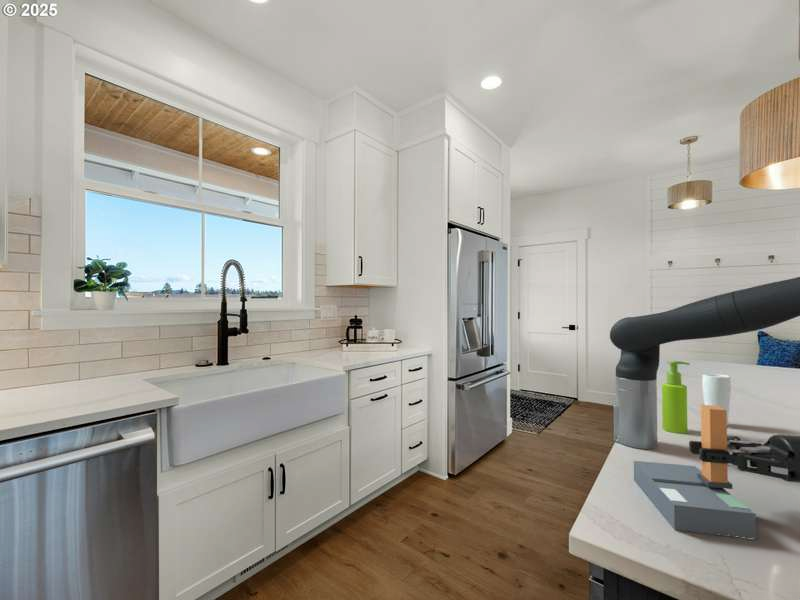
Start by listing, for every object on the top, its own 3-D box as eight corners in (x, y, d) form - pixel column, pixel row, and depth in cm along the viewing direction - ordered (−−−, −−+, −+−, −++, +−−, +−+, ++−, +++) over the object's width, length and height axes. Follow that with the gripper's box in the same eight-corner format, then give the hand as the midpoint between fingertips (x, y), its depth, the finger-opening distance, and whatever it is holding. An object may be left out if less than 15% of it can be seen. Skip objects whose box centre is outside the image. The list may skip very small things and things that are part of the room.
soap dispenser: (696, 433, 107) (695, 362, 108) (671, 433, 107) (670, 362, 108) (681, 427, 113) (680, 360, 113) (657, 426, 113) (657, 359, 114)
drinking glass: (702, 419, 120) (702, 372, 121) (730, 424, 116) (730, 374, 116) (702, 425, 115) (701, 375, 115) (731, 429, 111) (731, 378, 111)
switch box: (695, 486, 76) (694, 465, 76) (755, 539, 59) (755, 513, 59) (633, 480, 79) (633, 460, 79) (674, 529, 61) (674, 504, 61)
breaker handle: (720, 479, 69) (719, 405, 69) (732, 489, 65) (731, 410, 66) (697, 477, 70) (696, 404, 70) (708, 486, 66) (707, 409, 67)
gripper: (781, 425, 71) (676, 418, 75) (850, 453, 58) (717, 443, 62) (782, 465, 71) (676, 456, 75) (850, 503, 57) (717, 490, 61)
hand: (695, 450), depth 68 cm, fingers closed on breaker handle, 3 cm apart
